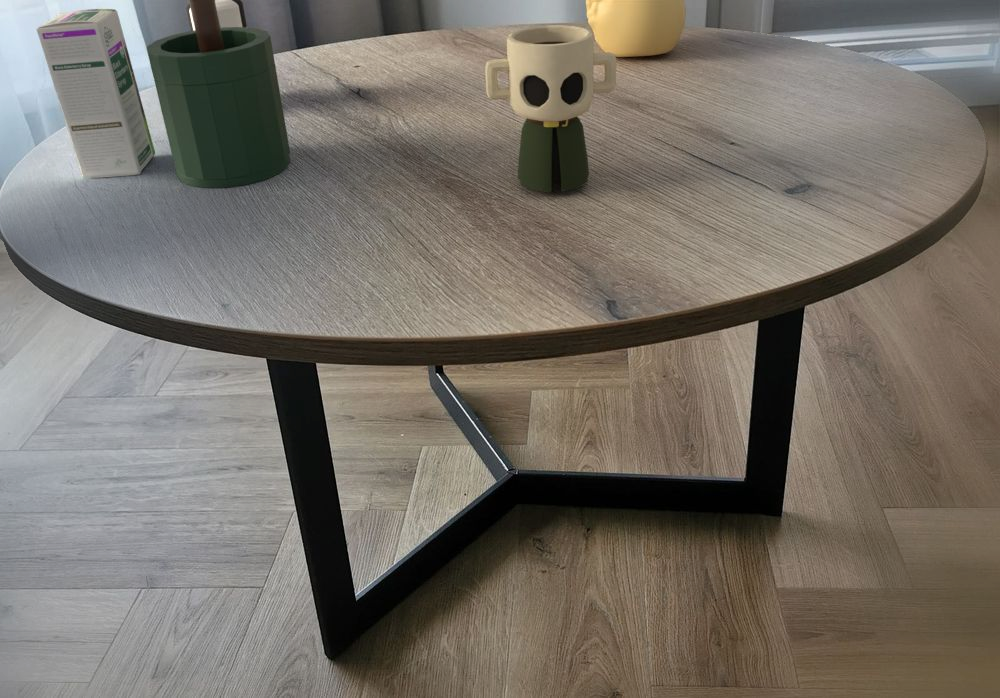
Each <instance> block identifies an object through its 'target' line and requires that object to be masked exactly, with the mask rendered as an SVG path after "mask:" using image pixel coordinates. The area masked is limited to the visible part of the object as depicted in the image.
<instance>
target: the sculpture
mask: <svg viewBox="0 0 1000 698" xmlns="http://www.w3.org/2000/svg"><path fill="white" fill-rule="evenodd" d="M585 5H586V17H587V19H588V25H589V26H590V27H591V31H592V32H593V37H594V40H595V42H596V43H597V45H598V46H599V47H600V49H601V50H602V51H603V53H613V54H615V57H616V58H628V57H631V58H632V57H648V56H650V57H651V56H657V55H663V54H667V53H669V52H670V51H673V49H674V47H676V46H677V44H678V43H679V40H680V38H681V36H682V34H683V31H684V28H685V23H686V15H687V12H686V10H687V9H686V8H687V7H686V2H685V0H585Z"/></svg>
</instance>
